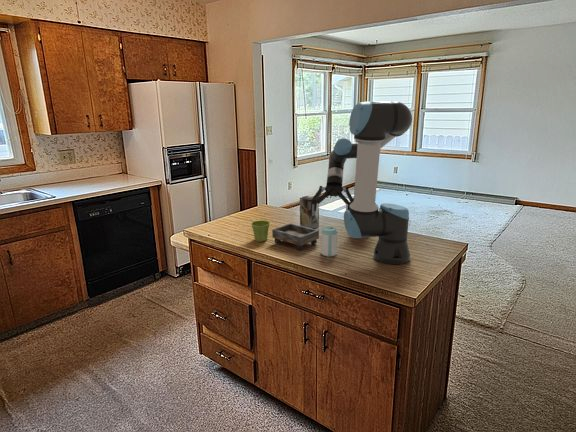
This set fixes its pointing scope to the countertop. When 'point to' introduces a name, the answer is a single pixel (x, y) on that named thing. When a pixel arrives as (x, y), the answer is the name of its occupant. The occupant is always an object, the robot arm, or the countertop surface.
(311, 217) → the coffee box
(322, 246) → the can
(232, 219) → the countertop surface
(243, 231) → the countertop surface
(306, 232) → the grey rectangular tray
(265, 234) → the plant pot
